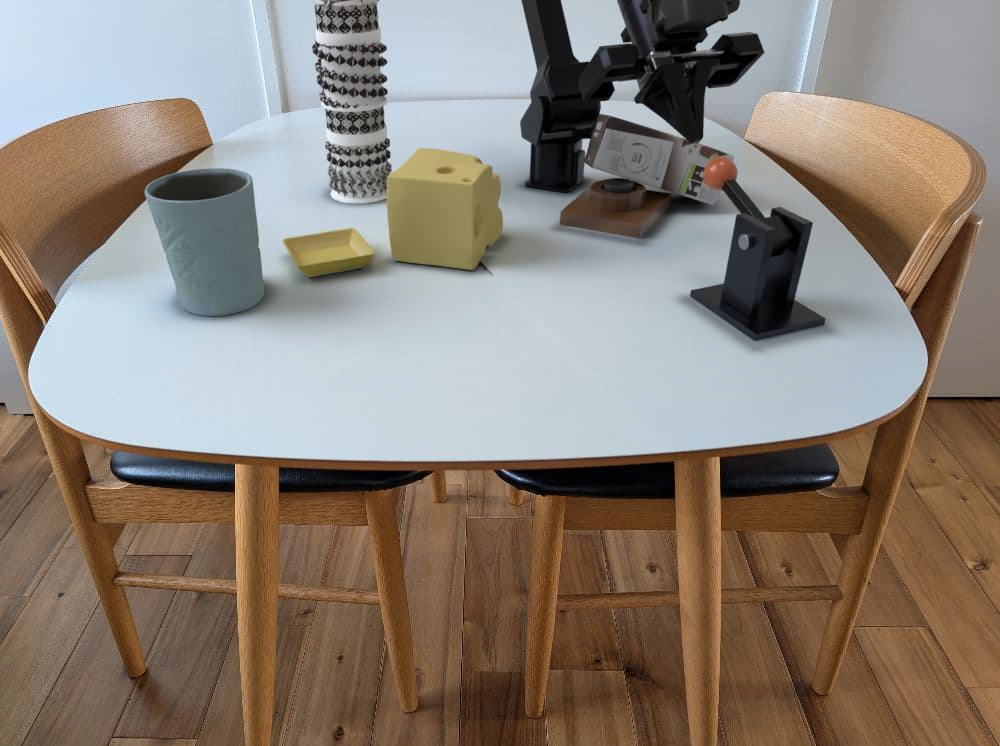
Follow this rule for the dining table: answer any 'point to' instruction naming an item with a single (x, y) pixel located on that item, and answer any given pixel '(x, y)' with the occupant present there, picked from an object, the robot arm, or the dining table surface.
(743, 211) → the lever
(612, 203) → the button block
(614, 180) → the button
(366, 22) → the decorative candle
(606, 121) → the coffee box
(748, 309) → the bracket
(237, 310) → the grey green cup
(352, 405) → the dining table surface
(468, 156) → the cheese
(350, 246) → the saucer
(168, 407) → the dining table surface
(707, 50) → the robot arm
